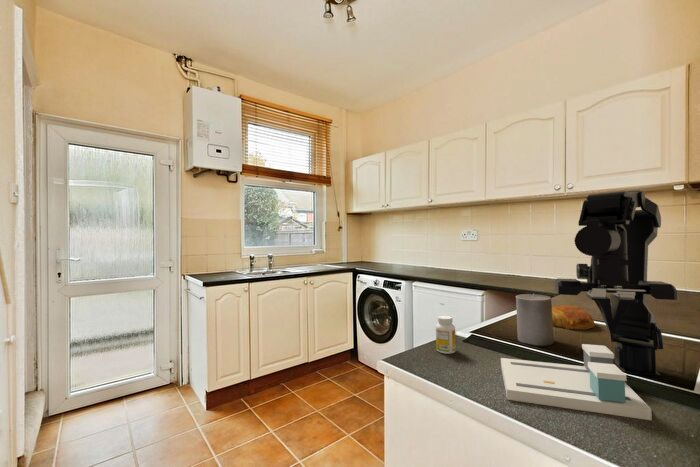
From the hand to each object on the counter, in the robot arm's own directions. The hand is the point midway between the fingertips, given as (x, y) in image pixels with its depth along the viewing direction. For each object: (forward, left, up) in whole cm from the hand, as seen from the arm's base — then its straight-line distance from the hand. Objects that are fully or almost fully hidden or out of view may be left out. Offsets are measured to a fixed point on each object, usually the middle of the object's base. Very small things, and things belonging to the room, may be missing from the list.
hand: (611, 330), depth 66 cm
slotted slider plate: (+9, -1, -13) cm, 16 cm away
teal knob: (+3, +5, -11) cm, 12 cm away
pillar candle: (+9, -34, -14) cm, 37 cm away
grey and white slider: (+1, -7, -11) cm, 13 cm away
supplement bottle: (+34, -17, -13) cm, 40 cm away
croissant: (-5, -57, -14) cm, 59 cm away
